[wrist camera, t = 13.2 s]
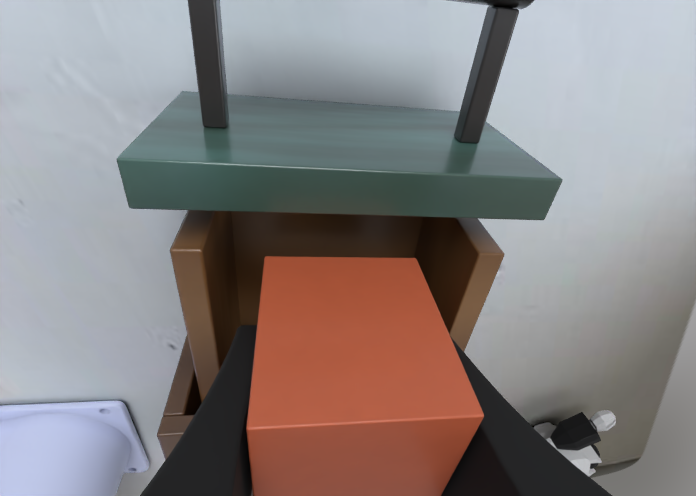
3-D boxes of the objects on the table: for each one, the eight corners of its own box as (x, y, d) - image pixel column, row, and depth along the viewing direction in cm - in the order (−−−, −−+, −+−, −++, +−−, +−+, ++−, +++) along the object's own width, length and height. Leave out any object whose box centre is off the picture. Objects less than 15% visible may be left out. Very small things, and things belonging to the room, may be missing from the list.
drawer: (154, -104, 10) (25, -178, 5) (521, -50, 11) (679, -68, 7) (218, 344, 19) (194, 458, 15) (409, 340, 21) (441, 442, 16)
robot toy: (594, 372, 28) (401, 417, 27) (644, 430, 25) (423, 486, 23) (554, 452, 35) (400, 491, 34) (588, 506, 32) (417, 552, 30)
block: (267, 358, 13) (255, 529, 9) (264, 255, 10) (246, 429, 6) (391, 354, 14) (432, 512, 10) (416, 257, 11) (485, 415, 7)
